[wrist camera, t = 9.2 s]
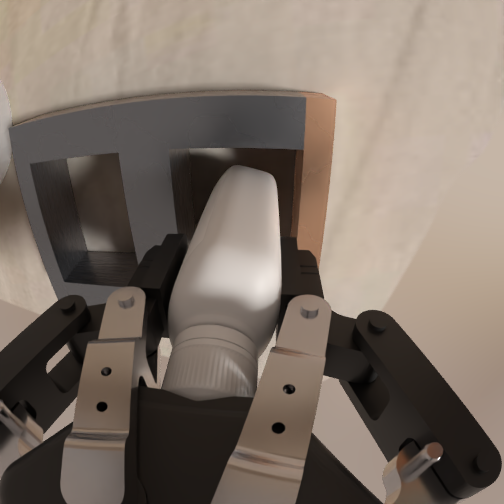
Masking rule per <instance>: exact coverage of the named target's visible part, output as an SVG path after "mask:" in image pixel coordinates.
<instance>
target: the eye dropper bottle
mask: <svg viewBox="0 0 504 504" xmlns="http://www.w3.org/2000/svg"><path fill="white" fill-rule="evenodd" d="M281 289H282V275H281V245H280V226H279V209H278V194H277V186H276V181H275V179H274V177H273V176H272V175H271V174H269V173H267V172H264V171H261V170H257V169H254V168H250V167H246V166H242V165H233V166H232V167H230V168H228V169H227V170H226V172H225V173H224V174H223V175H222V176H221V178H220V179H219V181H218V182H217V184H216V185H215V187H214V189H213V191H212V193H211V195H210V197H209V200H208V202H207V204H206V207H205V209H204V211H203V214H202V216H201V218H200V221H199V223H198V226H197V228H196V230H195V233H194V235H193V238H192V240H191V243H190V245H189V248H188V250H187V253H186V255H185V258H184V260H183V263H182V266H181V268H180V271H179V274H178V276H177V279H176V282H175V284H174V287H173V290H172V294H171V298H170V302H169V308H168V333H169V338H170V342H171V345H172V352H171V355H170V359H169V362H168V366H167V369H166V373H165V377H164V380H163V384H162V387H161V389H164V390H166V391H169V392H172V393H174V394H177V395H180V396H183V397H185V398H188V399H191V400H194V401H203V400H211V399H218V398H226V397H232V396H238V397H254V396H255V393H256V391H257V376H258V358H259V357H260V356H261V355H262V353H263V352H264V350H265V349H266V347H267V346H268V344H269V342H270V340H271V338H272V336H273V333H274V331H275V328H276V325H277V321H278V317H279V312H280V304H281Z"/></svg>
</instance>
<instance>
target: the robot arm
mask: <svg viewBox="0 0 504 504" xmlns="http://www.w3.org/2000/svg"><path fill="white" fill-rule="evenodd" d="M280 245H281V275H282V289H281V304H280V312H279V317H278V321H277V325H276V345H275V347H272V348H271V350H270V353H269V356H268V359H267V362H266V365H265V368H264V370H263V373H262V376H261V379H260V382H259V385H258V388H257V391H256V393H255V396H254V397H238V396H232V397H226V398H218V399H211V400H203V401H194V400H191V399H188V398H185V397H183V396H180V395H177V394H174V393H172V392H169V391H166V390H164V389H160V355H161V351H160V347H159V343H160V340H161V337H164V338H169V333H168V308H169V302H170V298H171V294H172V290H173V287H174V284H175V282H176V279H177V276H178V274H179V271H180V268H181V266H182V263H183V260H184V258H185V255H186V253H187V250H188V242H187V236H186V234H167V235H166V237H165V239H164V240H163V242H162V244H161V245H155V246H153V247H152V248H151V249H149V250H148V251H147V252H146V253H145V255H144V257H143V259H142V261H141V262H140V264H139V266H138V268H137V269H136V271H135V273H134V274H133V276H132V278H131V280H130V282H129V283H128V285H127V287H123V288H120V289H118V290H116V291H114V292H113V293H112V294H111V295H110V296H109V297H108V299H107V303H104V304H97V305H91V306H87V303H86V301H85V299H84V298H83V297H82V296H80V295H68V296H65V297H63V298H61V299H60V300H58V301H57V302H56V303H55V304H53V305H52V306H51V307H50V308H49V309H47V310H46V311H45V312H44V313H43V314H42V315H41V316H40V317H38V318H37V319H36V320H35V321H34V322H33V323H31V324H30V325H29V326H28V327H27V328H26V329H25V330H24V331H22V332H21V333H20V334H19V335H18V336H17V337H16V338H15V339H14V340H13V341H12V342H11V343H9V344H8V345H7V346H6V347H5V348H4V349H3V350H2V351H1V352H0V478H1V480H0V504H383V503H382V502H381V501H380V500H379V499H378V498H377V497H376V496H375V495H374V494H372V493H371V492H370V491H369V490H368V489H367V488H366V487H365V486H364V485H363V484H362V483H361V482H360V481H359V480H358V479H357V478H356V477H355V476H354V475H353V474H352V473H351V472H350V471H349V470H347V468H345V466H344V465H343V464H342V463H340V461H339V460H338V459H337V458H336V457H335V456H334V455H333V454H332V453H331V452H330V451H329V450H328V449H327V448H326V447H325V446H324V445H323V444H322V443H321V441H320V440H319V439H318V438H317V437H316V436H315V435H314V434H313V433H312V428H313V424H314V419H315V415H316V410H317V404H318V400H319V394H320V389H321V384H322V378H323V375H325V376H329V377H333V378H337V379H339V382H340V384H341V385H342V387H343V389H344V390H345V392H346V394H347V395H348V397H349V398H350V400H351V402H352V403H353V405H354V407H355V408H356V410H357V412H358V413H359V415H360V417H361V418H362V420H363V421H364V423H365V425H366V426H367V428H368V430H369V431H370V433H371V435H372V436H373V438H374V439H375V441H376V443H377V444H378V446H379V448H380V449H381V451H382V453H383V454H384V456H385V458H386V459H387V461H388V464H387V465H386V467H385V468H384V471H383V475H382V476H383V477H382V479H383V484H384V486H385V489H386V500H385V503H384V504H458V503H460V502H462V501H464V500H465V499H467V498H469V497H471V496H473V495H474V494H476V493H478V492H479V491H481V490H483V489H485V488H486V487H488V486H490V485H491V484H492V483H494V481H496V479H497V478H498V476H499V474H500V471H501V466H502V461H501V456H500V454H499V451H498V450H497V448H496V447H495V445H494V444H493V443H492V441H491V440H490V438H489V437H488V436H487V434H486V433H485V432H484V430H483V429H482V428H481V426H480V425H479V424H478V422H477V421H476V420H475V418H474V417H473V416H472V414H471V413H470V412H469V410H468V409H467V408H466V406H465V405H464V404H463V402H462V401H461V400H460V399H459V397H458V396H457V395H456V393H455V392H454V391H453V390H452V388H451V387H450V386H449V385H448V383H447V382H446V381H445V380H444V378H442V376H441V375H440V373H439V372H438V371H437V370H436V369H435V367H434V366H433V365H432V364H431V363H430V361H429V360H428V359H427V358H426V356H425V355H424V354H423V353H422V352H421V350H420V349H419V348H418V347H417V346H416V344H415V343H414V342H413V341H412V340H411V338H410V337H409V336H408V335H407V334H406V333H405V331H404V330H403V329H402V328H401V327H400V326H399V324H398V323H397V322H396V321H395V320H394V319H393V318H392V317H391V316H390V315H388V314H386V313H384V312H382V311H377V310H368V311H364V312H362V313H361V314H360V315H358V317H357V319H354V318H349V317H345V316H342V315H339V314H337V313H335V312H334V311H332V310H331V307H330V305H329V303H328V302H327V301H326V300H324V295H323V290H322V285H321V280H320V275H319V270H318V265H317V260H316V257H315V256H314V255H313V254H312V253H311V252H310V250H298V246H297V239H296V237H280ZM65 344H67V346H68V348H69V350H70V352H69V353H68V354H67V355H66V356H65V357H64V358H63V359H62V360H61V361H60V362H59V363H58V364H57V365H56V366H55V367H54V368H53V369H52V370H51V371H50V372H49V373H48V374H47V372H46V365H47V362H48V361H49V360H50V359H51V358H52V357H53V356H54V355H55V354H56V353H57V352H58V351H59V350H60V349H61V348H62V347H63V346H64V345H65ZM76 397H77V401H76V408H75V414H74V421H73V422H72V423H70V424H69V425H67V426H66V427H64V428H63V429H62V430H60V431H59V432H57V433H56V434H55V435H53V436H51V437H50V438H48V439H47V440H45V441H44V442H43V434H44V433H45V432H46V431H47V430H48V429H49V428H50V426H51V425H52V424H53V423H54V422H55V421H56V420H57V418H58V417H59V416H60V415H61V414H62V413H63V412H64V411H65V409H66V408H67V407H68V406H69V405H70V403H72V402H73V400H74V399H75V398H76Z"/></svg>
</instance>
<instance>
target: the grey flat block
mask: <svg viewBox="0 0 504 504" xmlns="http://www.w3.org/2000/svg"><path fill="white" fill-rule="evenodd" d="M335 115H336V99H333V98H331V97H329V96H327V95H325V94H322V93H310V92H294V91H269V90H222V91H197V92H182V93H169V94H159V95H149V96H141V97H133V98H125V99H118V100H112V101H106V102H100V103H94V104H89V105H83V106H78V107H74V108H69V109H64V110H60V111H55V112H51V113H47V114H44V115H41V116H38V117H35V118H33V119H30V120H27V121H25V122H22V123H20V124H17V125H15V126H12V127H10V128H8V130H9V136H10V142H11V147H12V153H13V158H14V163H15V168H16V172H17V177H18V181H19V185H20V189H21V193H22V197H23V201H24V204H25V208H26V211H27V215H28V218H29V222H30V225H31V228H32V231H33V234H34V237H35V240H36V243H37V246H38V249H39V252H40V255H41V258H42V261H43V263H44V266H45V269H46V271H47V274H48V276H49V279H50V281H51V284H52V286H53V289H54V291H55V294H56V296H57V298H58V300H60V299H61V298H63V297H65V296H68V295H80V296H82V297H83V298H84V299H85V301H86V303H87V306H91V305H97V304H104V303H107V299H108V297H109V296H110V295H111V294H112V293H113V292H114V291H116V290H118V289H120V288H123V287H127V285H128V283H129V282H130V280H131V278H132V276H133V274H134V273H135V271H136V269H137V268H138V266H139V264H140V262H141V261H142V259H143V257H144V255H145V253H146V252H147V251H148V250H149V249H151V248H152V247H153V246H155V245H161V244H162V242H163V240H164V239H165V237H166V235H167V234H186V236H187V242H188V248H189V245H190V243H191V240H192V238H193V235H194V233H195V222H194V211H193V199H192V186H191V173H190V158H189V148H273V149H296V158H295V176H294V193H293V208H292V222H291V236H290V237H296V239H297V246H298V250H310V252H311V253H312V254H313V255H314V256H315V257H316V260H317V265H318V270H319V263H320V256H321V249H322V242H323V234H324V227H325V219H326V210H327V202H328V193H329V184H330V174H331V164H332V153H333V141H334V129H335ZM109 153H119V160H120V168H121V174H122V181H123V187H124V194H125V200H126V205H127V211H128V217H129V222H130V227H131V232H132V237H133V242H134V247H135V252H136V253H115V252H88V251H87V247H86V244H85V240H84V236H83V233H82V229H81V225H80V221H79V217H78V213H77V209H76V205H75V200H74V196H73V191H72V187H71V182H70V177H69V172H68V166H67V161H66V158H73V157H81V156H90V155H99V154H109Z"/></svg>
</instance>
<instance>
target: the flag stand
mask: <svg viewBox="0 0 504 504" xmlns="http://www.w3.org/2000/svg"><path fill="white" fill-rule="evenodd" d="M12 126H13V125H12V113H11V109H10V104H9V99H8V96H7V93H6V90H5V87H4V85H3V83H2V81H1V79H0V184H1V182H2V181H3V179H4V177H5V175H6V173H7V170H8V167H9V163H10V159H11V152H12V147H11V142H10V136H9V130H8V128H10V127H12Z"/></svg>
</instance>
